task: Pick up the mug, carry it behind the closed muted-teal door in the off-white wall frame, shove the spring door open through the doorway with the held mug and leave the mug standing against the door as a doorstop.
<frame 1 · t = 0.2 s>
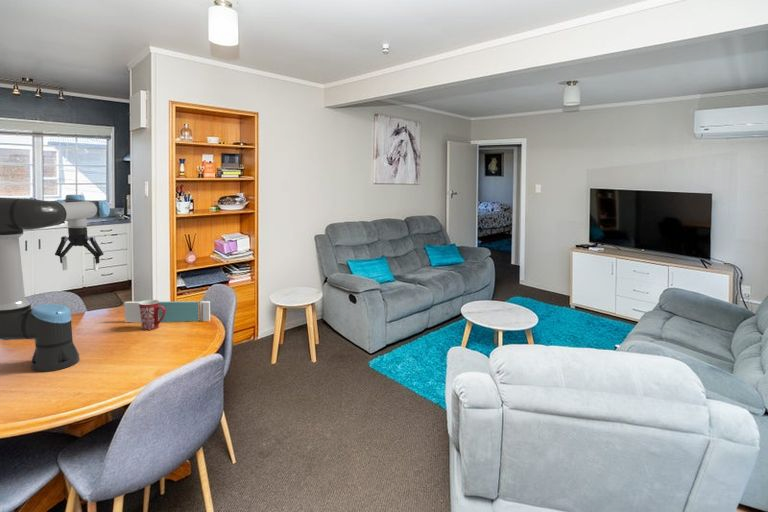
hand: (80, 269, 210), 28 cm above the table, fingers open, 13 cm apart
wall frame: (201, 321, 227), on the table
mug: (153, 328, 213), on the table
door: (178, 312, 223), point 5 cm above the table, hinge at 0.0°
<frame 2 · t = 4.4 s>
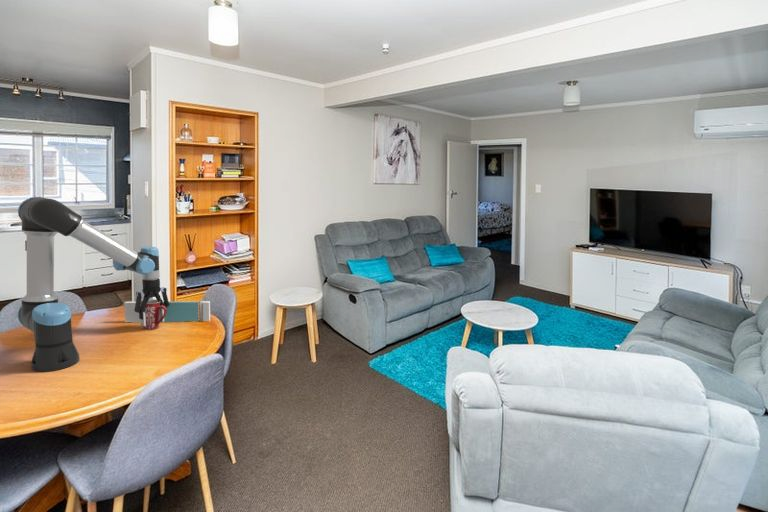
hand: (153, 323, 212), 3 cm above the table, fingers closed on mug, 8 cm apart
mug: (153, 328, 213), on the table, touching gripper
everything else where it was.
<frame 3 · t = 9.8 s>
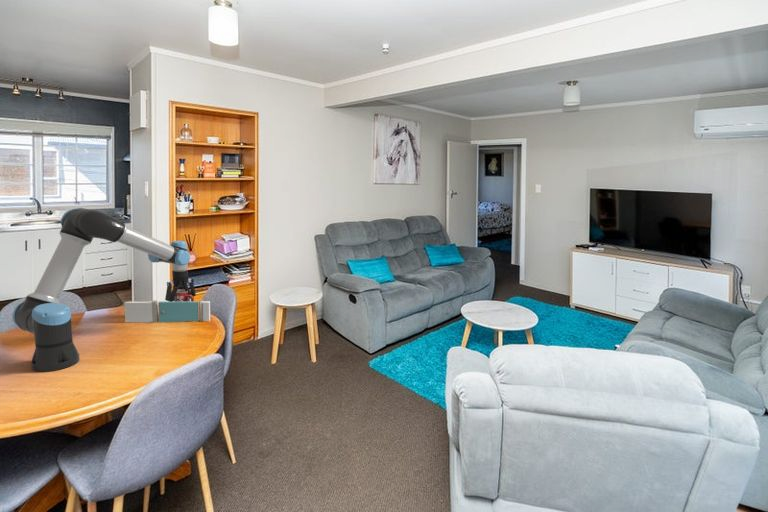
hand: (181, 311, 230), 4 cm above the table, fingers closed on mug, 8 cm apart
mug: (181, 316, 231), point 1 cm above the table, touching gripper
door: (178, 312, 223), point 5 cm above the table, hinge at 0.1°, touching gripper
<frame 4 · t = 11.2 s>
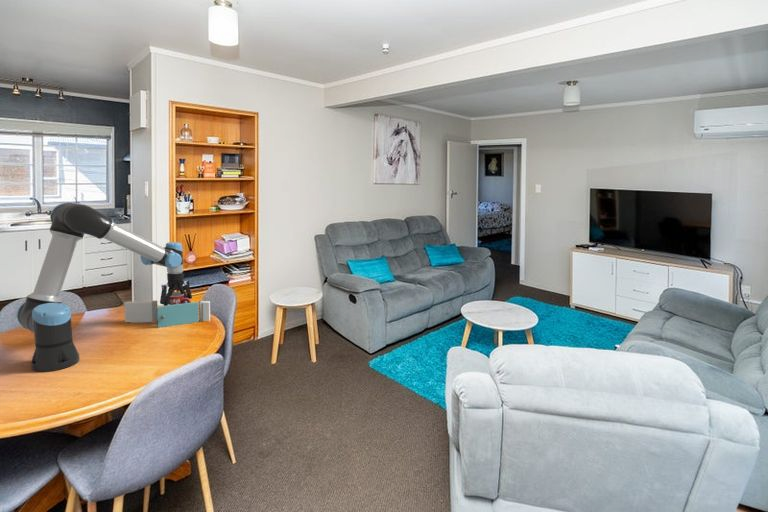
hand: (177, 314, 224), 4 cm above the table, fingers closed on mug, 9 cm apart
mug: (177, 319, 224), point 1 cm above the table, touching door, gripper
door: (178, 314, 218), point 5 cm above the table, hinge at 27.0°, touching mug
when the fingers open (4 cm above the table, at t = 13.6 s): mug drops 1 cm, on the table.
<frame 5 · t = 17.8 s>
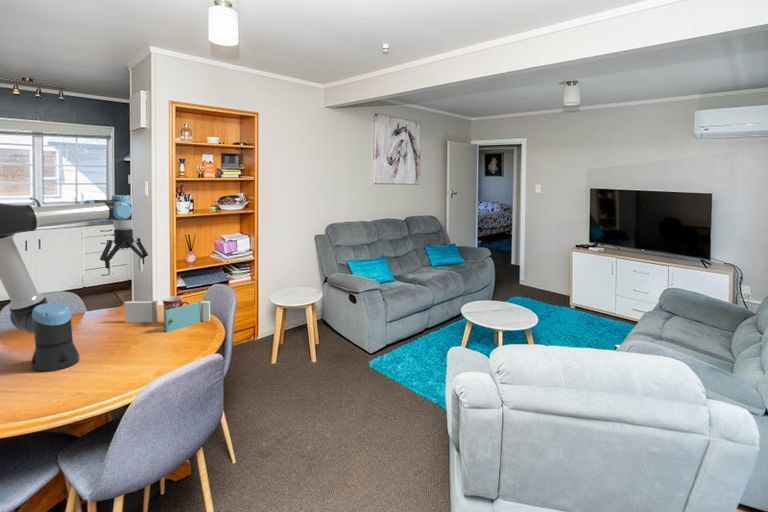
hand: (125, 273, 203), 29 cm above the table, fingers open, 13 cm apart
mug: (177, 324, 221), on the table
door: (183, 317, 216), point 5 cm above the table, hinge at 52.4°
at the end: door at +52° (first picture: +0°); mug inside the target area (0.4 cm from its centre), on the table; mug tilted 0° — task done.
